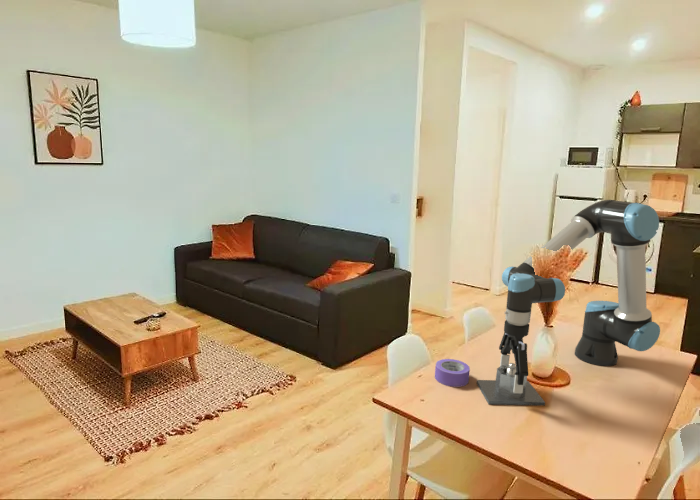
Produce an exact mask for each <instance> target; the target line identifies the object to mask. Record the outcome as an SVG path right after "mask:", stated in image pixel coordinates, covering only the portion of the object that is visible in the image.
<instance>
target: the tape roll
mask: <svg viewBox="0 0 700 500" xmlns="http://www.w3.org/2000/svg"><path fill="white" fill-rule="evenodd" d="M470 371H471V369H470V366H469V365H468V363H465V362H464V361H461V360H458V359H453V358H452V359H451V358H444V359H443V358H442V359H439V360H437V361H436V363H435V369H434V379H435V381H437V382H438V383H440V384H441V385H444V386H447V387H452V388H455V387H456V388H457V387H459V388H460V387H464V386H466V385H467V384H469V381H470V380H469V379H470V373H471V372H470Z"/></svg>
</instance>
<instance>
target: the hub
mask: <svg viewBox="0 0 700 500" xmlns="http://www.w3.org/2000/svg"><path fill="white" fill-rule="evenodd" d="M507 367H509V365H502V366H500V365H499V366H498V367H497V368H496V375H495V380H496V383H495V388H496V390H497V392H498V393H499V394H502V395H504V396H507V397H514V398H520V397H522V396H523V395H524V394H525V390H526V382H527V381H528V379H527V378H528V376H524V385H523V393H514V392H513V389H514V381H515V375H510V374H507ZM515 368H516V365H515ZM516 373H517V371H516Z"/></svg>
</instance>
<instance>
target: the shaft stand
mask: <svg viewBox="0 0 700 500" xmlns="http://www.w3.org/2000/svg"><path fill="white" fill-rule="evenodd" d="M515 366H516V364H515V362H514V363H513V362H509V367H507V374H510V375H515V373H516V368H515ZM495 383H496V379H494V380H493V379H476V385H477V387H478V388H479V390H480V392H481V394H482V395H483V397H484V400H486V402H487V404H488V405H491V406H492V405H494V406H495V405H496V406H499V405H500V406H539V407H540V406H542V407H543V406H545V405H546V402H545V400H544V399H543V397H541V395H540V394H539V392H538V391H537V390H536V389H535V388H534V386H533V385H532V384H531V383H530V381H529V380H527V382H526V390H525V394H524V395H523V396H522V397H520V398H514V397H507V396H504V395H502V394H499V393H498V392H497V390H496V388H495Z"/></svg>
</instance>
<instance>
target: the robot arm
mask: <svg viewBox="0 0 700 500" xmlns="http://www.w3.org/2000/svg"><path fill="white" fill-rule="evenodd" d="M659 227H660V218H659V215H658V213H657V211H656V210H655V209H654V208H653V207H652V206H650V205H648V204H643V203H640V202H631V201H622V200H615V199H603V200H601V201H597V202H594V203H593V204H590V205H589V206H586V207H585V208H584V209H582V210H580V211H579V212H577V213H576V214H575V215H574V216H572V217H571V220H570V223H568V224H567V225H566V226H565V227H563V228H562V229H561V230H560V231H559V232H558V233H557V234H555V235H554V236H553V237H552V238H551V239H549V240H548V241H547V242H545V244H544V245H543V244H542V246H541V247H540V248H545V247H546V249H549V250H553V251H557V250H559V249H560V248H561V247H562V246H563V245H569V246H570V247H571V249H572V251H574V249H576V247H578V246H579V245H580V244H581V243H582V242H583V241H585V240H586V239H591V238H593V237H594V236H595V235H597V234H600V233H606V234H610V243H611V244H612V245H613V246H615V248H616V249H615V250H616V272H617V275H616V276H617V298H618V301H617V302H616V301H609V300H592V301H589V302H588V303H587V304H586V306H585V310H584V316H583V325H582V326H583V327H582V333H581V334H582V335H581V337H580V338H579V340H578V343H577V345H576V346H575V348H574V356H575V357H577V359H579V360H581V361H583V362H585V363H588V364H592V365H595V366H601V367H602V366H603V367H604V366H605V367H611V366H614V365H617V363H618V359H619V356H618V355H619V354H618V350H617V346H616V343H618V344H620V345H622V346H625V347H627V348H629V349H631V350H634V351H637V352H645V351H646V352H647V351H648V350H650V349H651V348H652V347H653V346H655V344H656V343H657V341H658V339H659V337H660V335H661V327H660V325H659V324H658V323H657V322H655V321H653V317H652V316H653V315H652V314H653V313H652V311H651V310H650V309H649V308H647V271H646V270H647V269H646V268H647V267H646V266H647V265H646V262H647V261H646V246H647V245H649V244H650V243H651V240H652V239H653V238H655V236H656V235H657V231H658V230H659ZM501 280H502V283H503V285H505V286H506V287H507V297H506V306H505V307H506V308H505V309H506V310H505V311H504V315H505V316H504V317H505V320H504V324H503V325H504V327H503V334H502V335H503V336H502V338H501V341H500V344H499V346H498V349H499V350H500V363H499V367H500V366H502V365H509V364H510V357H511V356H510V355H511V353H512V354H513V356H514V364H515V366H516V371H517V373H515V381H514V389H513V392H514V393H523V385H524V376H527V377H528V376H529V364H528V363H529V362H528V344H527V343H525V342H524V339H523V338H524V337H527V336H528V335H529V331H530V323H531V315H532V307H533V304H540V303H552V302H557V301H561V300H562V299H563V298H564V297H565V294H566V286H565V284H564V282H563V280H561V279H560V278H558V277H557V278H556V277H555V278H554V277H549V278H546V277H543V276H538V275H535V272H534V268H533V267H532V257H531V255H530V256H529V257H528V258H526V259H525V260H524V261H523V262H521V264H519V265H517V266H509V267H506V268H505V269H504V270H503V272H502V274H501Z"/></svg>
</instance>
